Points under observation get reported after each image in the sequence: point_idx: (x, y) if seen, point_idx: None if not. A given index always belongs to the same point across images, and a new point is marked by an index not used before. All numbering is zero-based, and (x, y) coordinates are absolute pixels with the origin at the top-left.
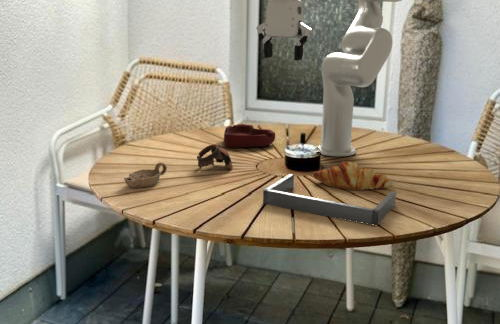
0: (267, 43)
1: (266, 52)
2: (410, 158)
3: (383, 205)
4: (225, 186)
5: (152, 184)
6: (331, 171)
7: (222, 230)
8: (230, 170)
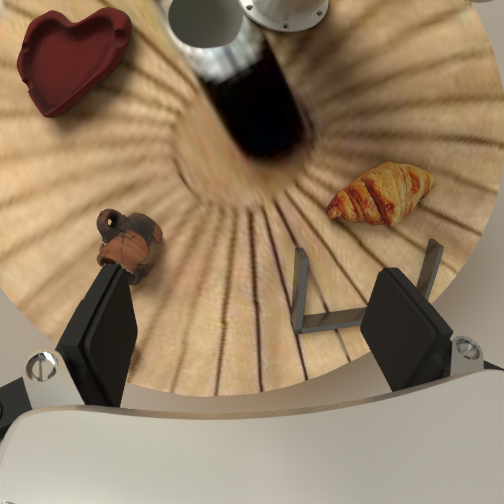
0: (106, 406)
1: (128, 359)
2: (414, 2)
3: (429, 294)
4: (207, 300)
5: None
6: (363, 215)
7: (285, 383)
8: (161, 235)
